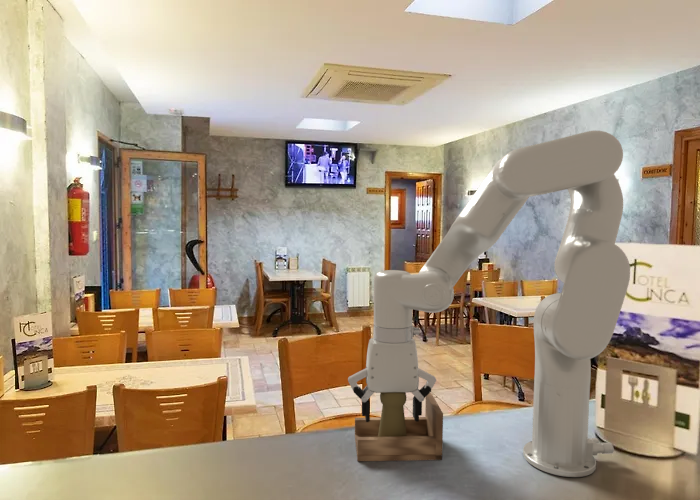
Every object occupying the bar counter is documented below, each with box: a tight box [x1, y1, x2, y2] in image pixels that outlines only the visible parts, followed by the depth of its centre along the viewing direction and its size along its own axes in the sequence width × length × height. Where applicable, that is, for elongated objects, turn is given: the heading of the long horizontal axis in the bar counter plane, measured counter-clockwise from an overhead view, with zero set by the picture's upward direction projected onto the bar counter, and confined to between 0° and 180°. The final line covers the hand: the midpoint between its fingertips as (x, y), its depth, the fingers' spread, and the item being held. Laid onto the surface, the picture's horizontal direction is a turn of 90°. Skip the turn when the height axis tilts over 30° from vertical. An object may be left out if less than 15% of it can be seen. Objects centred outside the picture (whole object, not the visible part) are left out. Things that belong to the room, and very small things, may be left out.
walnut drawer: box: [354, 392, 444, 462], centre depth 95 cm, size 16×10×9 cm, turn 92°
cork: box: [378, 392, 407, 437], centre depth 95 cm, size 6×6×11 cm
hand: (391, 419), depth 95 cm, fingers open, 9 cm apart
